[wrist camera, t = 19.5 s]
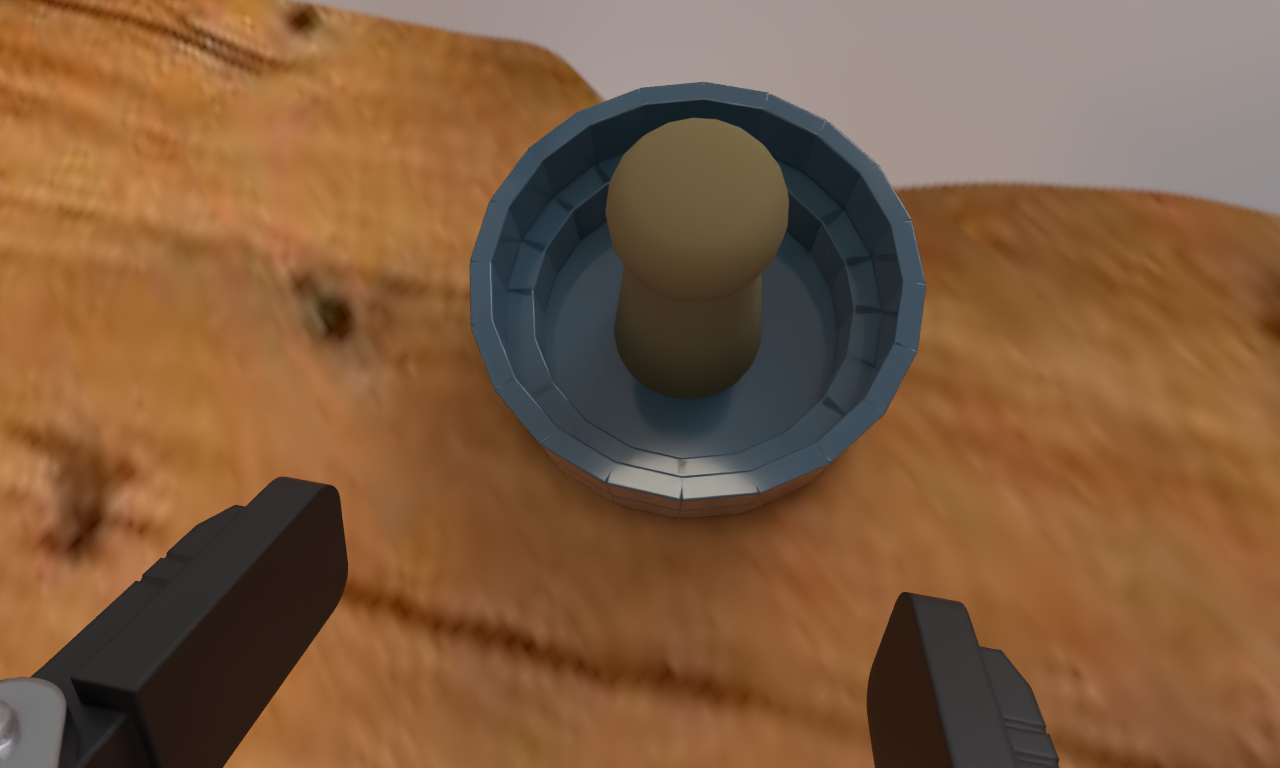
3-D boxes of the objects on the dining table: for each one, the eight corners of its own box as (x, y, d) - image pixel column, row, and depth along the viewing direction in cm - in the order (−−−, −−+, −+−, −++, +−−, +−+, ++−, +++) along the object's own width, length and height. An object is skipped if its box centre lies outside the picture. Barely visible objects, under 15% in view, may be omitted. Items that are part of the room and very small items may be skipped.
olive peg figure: (789, 307, 30) (856, 145, 19) (711, 427, 28) (738, 324, 18) (665, 236, 31) (664, 47, 20) (585, 349, 29) (540, 208, 19)
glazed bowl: (775, 119, 33) (796, 28, 28) (949, 424, 29) (1013, 384, 23) (454, 244, 32) (412, 173, 26) (584, 583, 27) (565, 578, 22)
